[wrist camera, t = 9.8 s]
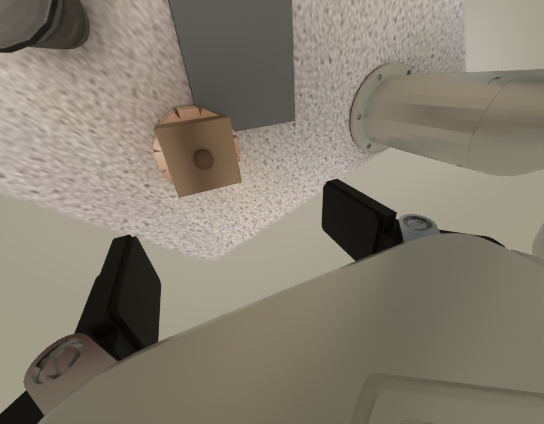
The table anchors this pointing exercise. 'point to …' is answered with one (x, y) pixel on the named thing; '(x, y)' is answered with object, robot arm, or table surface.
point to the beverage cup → (42, 24)
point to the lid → (199, 154)
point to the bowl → (183, 115)
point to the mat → (239, 58)
